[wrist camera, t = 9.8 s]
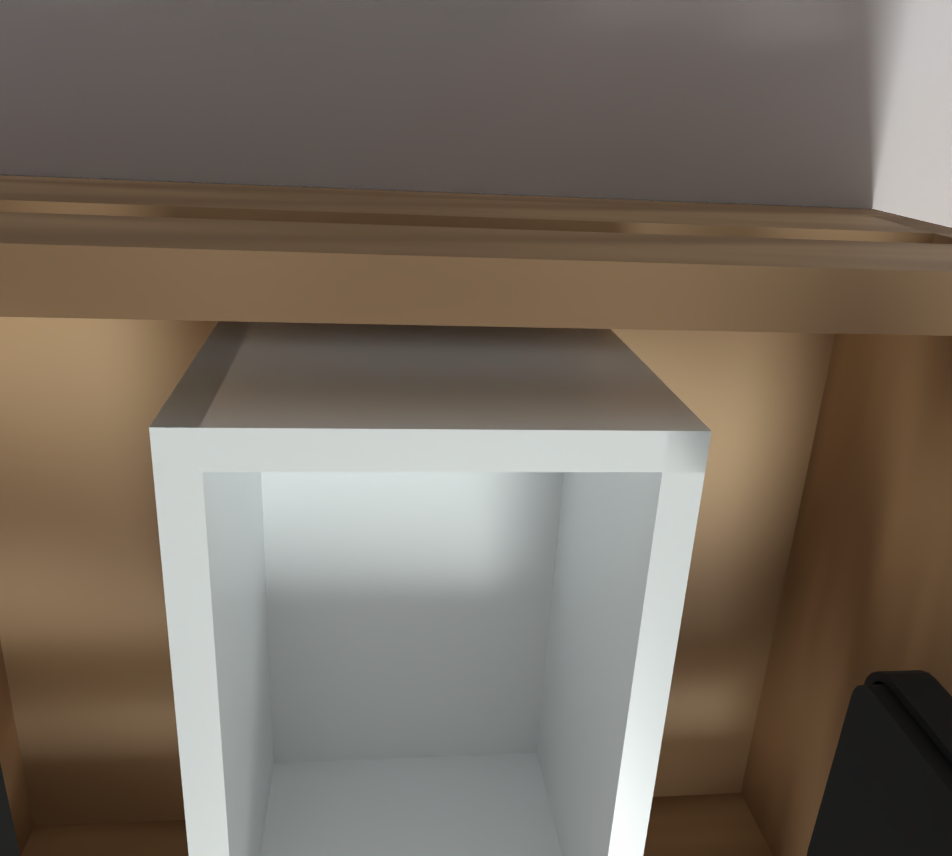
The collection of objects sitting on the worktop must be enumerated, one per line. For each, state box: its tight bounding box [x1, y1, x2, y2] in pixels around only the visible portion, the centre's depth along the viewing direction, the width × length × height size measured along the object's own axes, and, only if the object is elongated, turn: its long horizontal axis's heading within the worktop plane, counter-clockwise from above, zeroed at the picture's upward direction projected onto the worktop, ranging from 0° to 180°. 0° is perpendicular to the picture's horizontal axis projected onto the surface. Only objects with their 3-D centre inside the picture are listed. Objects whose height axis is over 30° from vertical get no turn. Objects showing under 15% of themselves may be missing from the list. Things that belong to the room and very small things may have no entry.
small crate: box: [149, 321, 712, 856], centre depth 13 cm, size 9×6×5 cm, turn 177°
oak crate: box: [0, 175, 952, 856], centre depth 13 cm, size 13×16×6 cm
